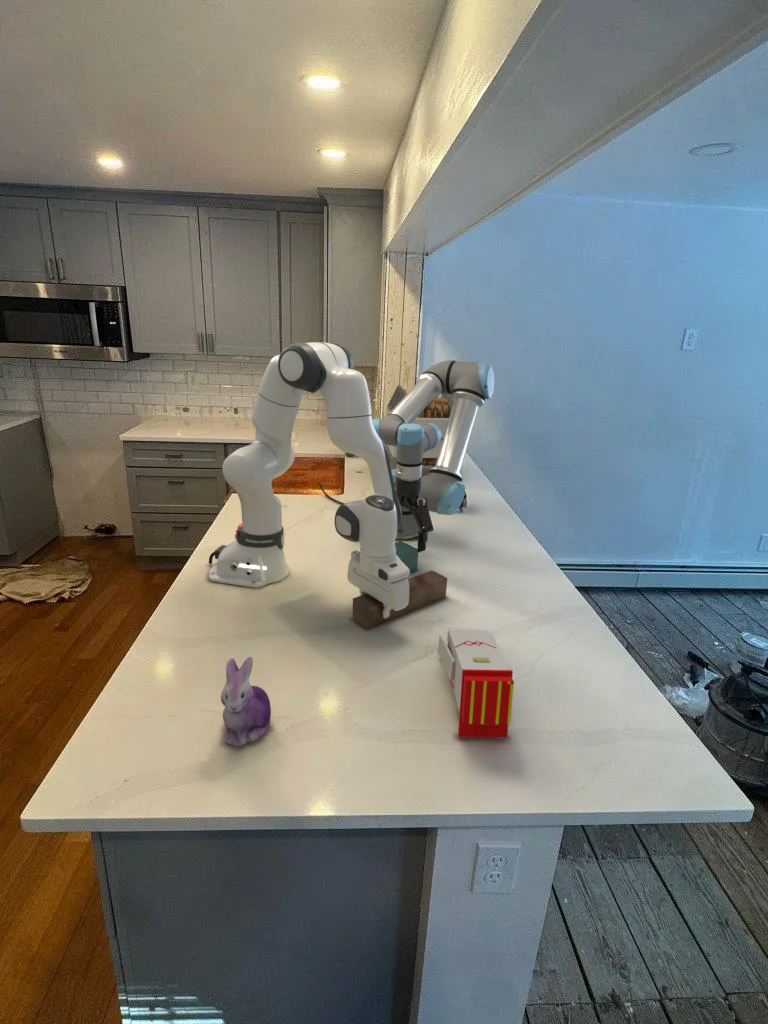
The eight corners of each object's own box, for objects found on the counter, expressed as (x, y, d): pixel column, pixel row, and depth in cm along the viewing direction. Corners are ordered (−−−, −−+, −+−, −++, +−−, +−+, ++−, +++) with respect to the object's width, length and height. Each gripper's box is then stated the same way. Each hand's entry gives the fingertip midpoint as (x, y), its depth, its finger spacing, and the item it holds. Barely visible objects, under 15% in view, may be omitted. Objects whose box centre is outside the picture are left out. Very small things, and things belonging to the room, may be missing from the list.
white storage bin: (382, 463, 289) (386, 382, 275) (445, 464, 293) (451, 384, 279) (390, 482, 257) (394, 392, 243) (460, 483, 261) (468, 394, 247)
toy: (488, 613, 130) (523, 677, 101) (484, 667, 133) (517, 744, 104) (435, 612, 130) (455, 676, 101) (432, 666, 133) (451, 743, 103)
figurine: (228, 756, 99) (223, 684, 94) (215, 719, 107) (210, 651, 102) (280, 740, 103) (279, 670, 98) (264, 706, 111) (262, 640, 106)
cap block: (400, 576, 168) (401, 554, 166) (382, 566, 174) (383, 545, 172) (417, 570, 173) (418, 549, 170) (399, 561, 178) (400, 540, 176)
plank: (366, 629, 140) (367, 607, 138) (352, 619, 144) (352, 598, 142) (445, 597, 157) (447, 578, 155) (430, 589, 161) (432, 570, 159)
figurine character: (467, 516, 223) (461, 500, 237) (469, 499, 220) (463, 483, 233) (450, 516, 223) (446, 499, 236) (452, 498, 220) (447, 483, 233)
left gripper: (342, 550, 145) (341, 598, 150) (395, 579, 131) (392, 631, 135) (361, 544, 149) (360, 591, 154) (414, 572, 134) (411, 623, 139)
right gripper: (371, 469, 172) (370, 533, 180) (429, 491, 155) (425, 561, 163) (390, 465, 177) (388, 527, 185) (448, 486, 159) (443, 554, 167)
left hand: (375, 610), depth 144 cm, fingers closed on plank, 6 cm apart
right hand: (405, 543), depth 174 cm, fingers open, 13 cm apart
